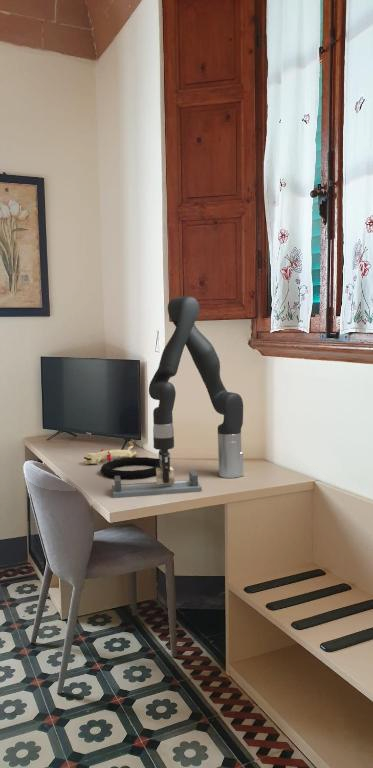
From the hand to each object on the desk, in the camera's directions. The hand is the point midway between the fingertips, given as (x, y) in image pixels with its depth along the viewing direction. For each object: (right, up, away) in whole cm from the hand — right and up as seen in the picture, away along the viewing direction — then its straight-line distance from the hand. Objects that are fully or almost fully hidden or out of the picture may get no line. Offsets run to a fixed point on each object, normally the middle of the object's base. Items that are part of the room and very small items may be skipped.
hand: (165, 480), depth 240 cm
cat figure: (-26, +1, +51) cm, 58 cm away
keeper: (0, -1, 0) cm, 1 cm away
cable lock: (-13, -1, +31) cm, 33 cm away
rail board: (-3, -4, 0) cm, 5 cm away
